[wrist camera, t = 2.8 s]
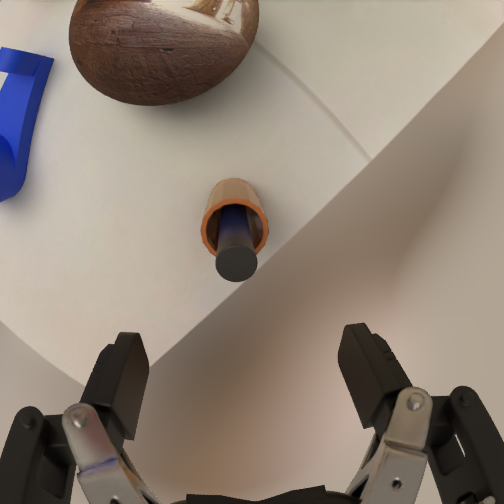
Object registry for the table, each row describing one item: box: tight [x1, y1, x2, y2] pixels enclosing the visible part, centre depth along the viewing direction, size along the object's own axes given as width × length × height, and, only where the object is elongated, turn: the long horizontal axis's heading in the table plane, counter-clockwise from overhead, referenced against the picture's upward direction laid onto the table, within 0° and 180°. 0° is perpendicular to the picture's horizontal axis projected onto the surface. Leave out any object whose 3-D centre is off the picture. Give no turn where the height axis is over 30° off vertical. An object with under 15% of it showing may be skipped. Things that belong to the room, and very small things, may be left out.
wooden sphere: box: [69, 0, 259, 106], centre depth 15 cm, size 15×15×15 cm
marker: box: [216, 203, 257, 282], centre depth 23 cm, size 2×2×14 cm
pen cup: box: [201, 178, 269, 256], centre depth 26 cm, size 5×5×9 cm
